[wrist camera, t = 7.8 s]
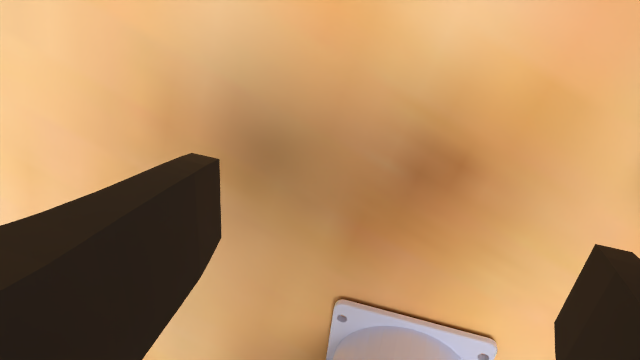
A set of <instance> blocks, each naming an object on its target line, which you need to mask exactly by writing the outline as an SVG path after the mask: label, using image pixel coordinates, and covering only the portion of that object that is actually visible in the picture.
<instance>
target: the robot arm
mask: <svg viewBox="0 0 640 360" xmlns="http://www.w3.org/2000/svg"><path fill="white" fill-rule="evenodd" d="M220 239H221V207H220V169H219V159H216V158H212V157H207V156H203V155H198V154H194V153H191V154H187V155H184V156H181V157H179V158H176V159H174V160H171V161H168V162H166V163H164V164H161V165H159V166H156V167H154V168H152V169H149V170H147V171H145V172H142V173H140V174H138V175H135V176H133V177H130V178H128V179H126V180H123V181H121V182H118V183H116V184H114V185H111V186H109V187H107V188H104V189H102V190H99V191H97V192H94V193H92V194H89V195H86V196H84V197H81V198H78V199H76V200H73V201H70V202H68V203H65V204H63V205H60V206H57V207H55V208H52V209H49V210H47V211H44V212H41V213H38V214H35V215H32V216H30V217H27V218H23V219H20V220H17V221H14V222H11V223H8V224H5V225H1V226H0V360H142V359H143V358H144V356H145V355H146V353H147V352H148V351H149V349H150V348H151V346H152V345H153V344H154V342H155V341H156V339H157V338H158V337H159V335H160V334H161V332H162V331H163V330H164V328H165V327H166V325H167V324H168V323H169V321H170V320H171V319H172V317H173V316H174V314H175V313H176V312H177V310H178V309H179V307H180V306H181V305H182V303H183V302H184V300H185V299H186V297H187V296H188V295H189V293H190V292H191V290H192V289H193V287H194V286H195V285H196V283H197V282H198V280H199V279H200V277H201V275H202V274H203V272H204V270H205V268H206V266H207V264H208V263H209V261H210V259H211V257H212V255H213V253H214V251H215V249H216V247H217V245H218V243H219V241H220ZM341 315H344V316H345V317H343V316H341ZM554 324H555V355H556V360H640V259H639V258H638V257H637V256H636V255H635V254H634V253H633V252H628V251H624V250H619V249H615V248H611V247H606V246H602V245H597V244H595V246H594V248H593V250H592V252H591V254H590V255H589V257H588V259H587V261H586V263H585V265H584V267H583V269H582V271H581V273H580V275H579V277H578V278H577V280H576V282H575V284H574V286H573V288H572V290H571V292H570V294H569V296H568V298H567V299H566V301H565V303H564V305H563V307H562V309H561V311H560V313H559V315H558V317H557V319H556V321H555V322H554ZM483 354H485V355H483ZM496 354H497V344H496V342H495V341H494V340H492V339H490V338H487V337H483V336H479V335H476V334H472V333H468V332H464V331H461V330H457V329H453V328H449V327H446V326H442V325H438V324H434V323H431V322H427V321H423V320H419V319H416V318H412V317H408V316H405V315H401V314H397V313H393V312H390V311H386V310H382V309H378V308H375V307H371V306H367V305H363V304H360V303H356V302H352V301H348V300H343V299H342V300H338V301H337V302H336V303H335V306H334V310H333V316H332V323H331V329H330V336H329V342H328V349H327V356H326V360H494V358H495V356H496Z"/></svg>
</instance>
